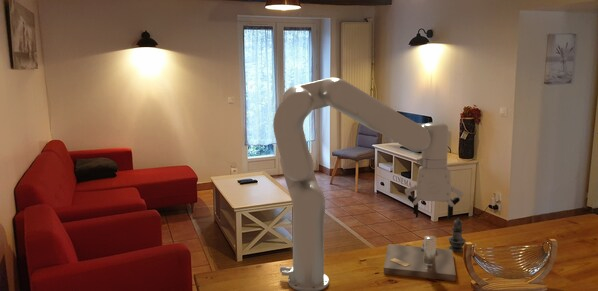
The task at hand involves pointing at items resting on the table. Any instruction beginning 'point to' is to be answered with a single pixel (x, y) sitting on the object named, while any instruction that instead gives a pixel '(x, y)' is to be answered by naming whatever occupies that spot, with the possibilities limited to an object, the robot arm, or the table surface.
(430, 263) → the lever
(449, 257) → the lever board
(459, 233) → the dark grey tower figurine
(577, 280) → the table surface
